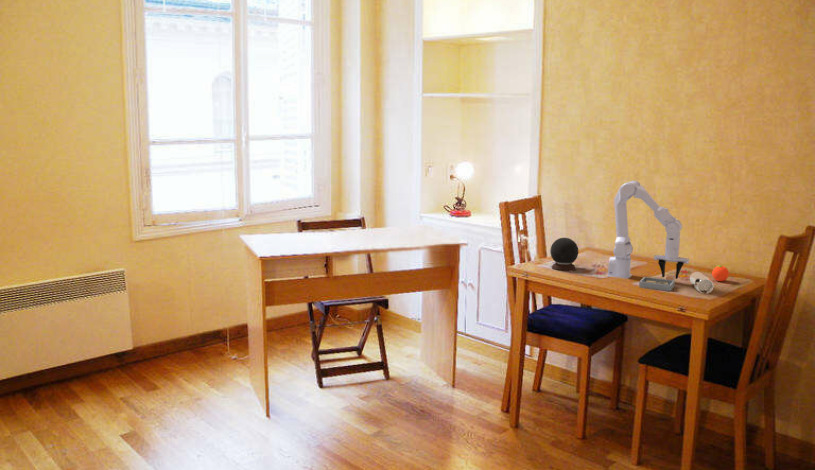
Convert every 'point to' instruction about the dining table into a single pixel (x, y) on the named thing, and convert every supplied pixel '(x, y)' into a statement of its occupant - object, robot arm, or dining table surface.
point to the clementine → (720, 273)
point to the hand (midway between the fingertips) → (669, 277)
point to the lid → (670, 277)
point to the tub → (657, 286)
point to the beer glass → (701, 282)
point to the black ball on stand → (564, 254)
